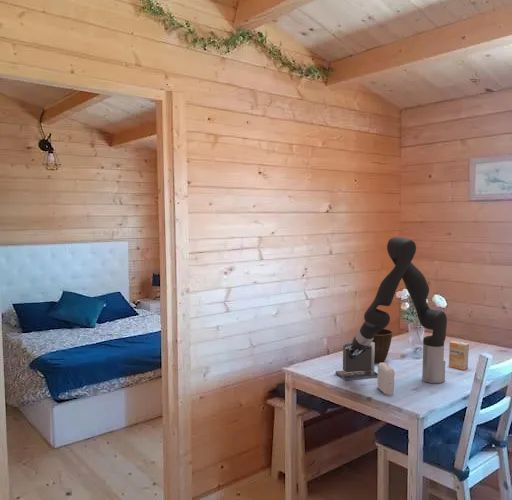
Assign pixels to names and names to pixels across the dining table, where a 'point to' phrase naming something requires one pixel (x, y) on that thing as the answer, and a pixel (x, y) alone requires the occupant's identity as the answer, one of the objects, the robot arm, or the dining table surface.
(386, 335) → the plant pot
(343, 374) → the panel
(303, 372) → the dining table surface
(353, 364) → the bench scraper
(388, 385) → the photo printer
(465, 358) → the supplement box
